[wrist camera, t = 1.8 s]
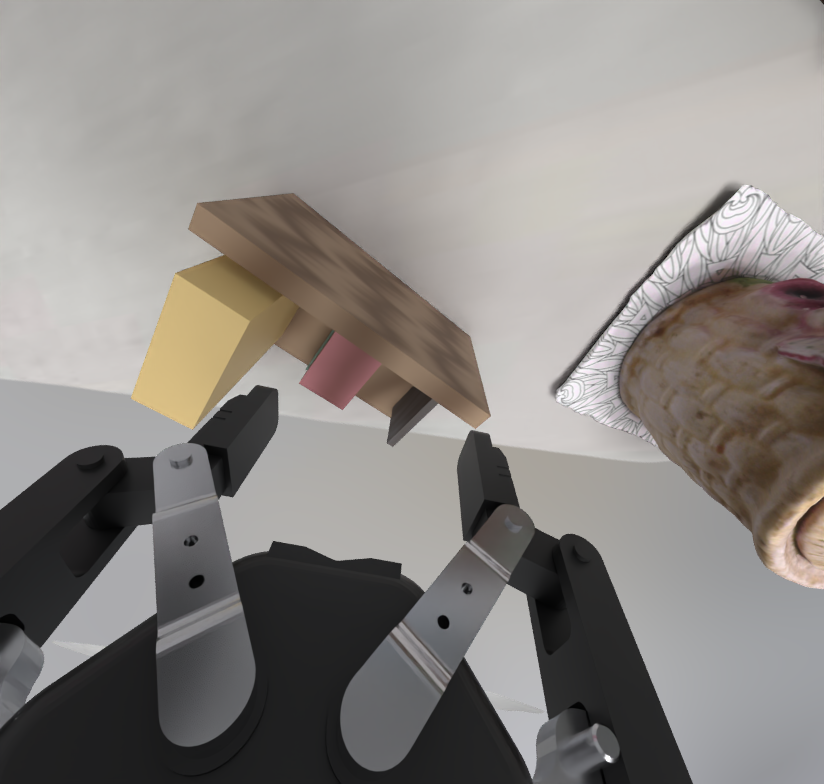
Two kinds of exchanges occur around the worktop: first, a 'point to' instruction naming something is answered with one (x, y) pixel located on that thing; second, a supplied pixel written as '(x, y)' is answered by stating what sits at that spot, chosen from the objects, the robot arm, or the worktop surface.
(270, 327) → the ochre book
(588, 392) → the cookie jar
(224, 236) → the shelf
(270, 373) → the worktop surface
